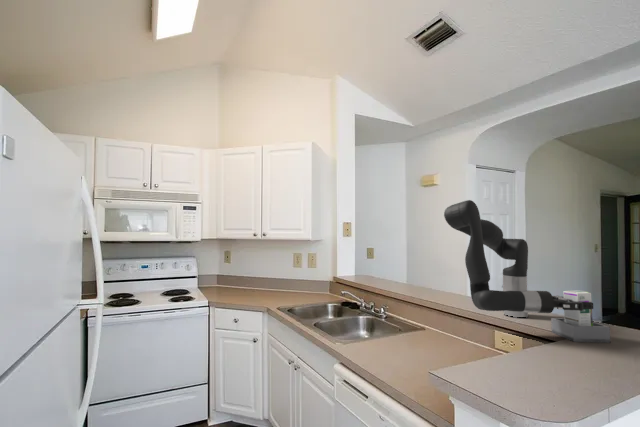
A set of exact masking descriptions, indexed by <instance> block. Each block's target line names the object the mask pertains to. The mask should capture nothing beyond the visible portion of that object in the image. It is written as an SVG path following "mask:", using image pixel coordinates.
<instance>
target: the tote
mask: <svg viewBox="0 0 640 427" xmlns="http://www.w3.org/2000/svg"><path fill="white" fill-rule="evenodd" d="M550 319H551V324H550V325H551V333H552V334H555V335H557V336H559V337H562V338H564V339H566V340H568V341H571V342H574V343H605V344H607V343H608V344H609V343H611V328H610V326H607V325H604V324H602V323H599V322H595V321H593V326H574V325H571V324H568V323H566V322H565V318H564V317H562V318H561V317H550Z"/></svg>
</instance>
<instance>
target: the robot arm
mask: <svg viewBox="0 0 640 427" xmlns="http://www.w3.org/2000/svg"><path fill="white" fill-rule="evenodd" d="M443 213H444V214H443V217H444V220H445V222H446V223H447V224H448V225H449V226H450V227H451V228H453V229H454V230H456V231H459V232H462V233H464V234H466V235H468V236H470V237H469V238H470V239H469V243H468V246H467V250H466V254H465V259H464V260H465V263H464V264H465V267H466V272H467V275H468V279H469V288H470V298H471V301H472V303H473V305H474V307H475V308H477V309H479V310H481V311H487V312H488V311H489V312H495V311H496V312H504V313H503V315H504V314H505V315H504V316H506V315H508V316H507V317H510V316H513V317H512V318H517V317H526V318H528V317H529V314H528V313H530V314H531V313H532V314H533V313H534V314H552V312H553V311H554V309H558V310H562V311H564V310H580V311H583V309H592V310H594V303H593V301H592V302H580V301H573V300H572V299H565V298H564V297H563V296H562V295H561V296H560V295H552V293H551V292H550V291H547V290H528V262H529V261H528V260H529V247H528V242H527V240H525V239H524V238H504V232H503V230H502V229H501V228H500V227H499V226H498V225H497V224H495V223H493V222H492V221H490V220H487V219H481V215H480V211H479V207H478V205H477V204H476V203H475V201H473V200H472V199H466V200H464V201H460V202H457V203H453V204H451V205H449V206H447V207H446V208H445V210H444V212H443ZM484 246H486V247H488V248H489V249H491V250H492V251H494V253H496V254H497V256H499V257H500V258H502V259H504V260H511V261H514V264H513V265H511V266H508V267H504V268H503V269H502V290H494V289H493V290H492V289H490V285H489V282H490V280H491V274H490V270H489V266H488V262H487V259H486V253H485V247H484ZM568 301H569V302H568ZM576 304H577V307H575V305H576Z"/></svg>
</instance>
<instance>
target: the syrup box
mask: <svg viewBox="0 0 640 427" xmlns="http://www.w3.org/2000/svg"><path fill="white" fill-rule="evenodd" d="M562 292H563V293H562V294H563V297H564V298H565V299H572V300H573V301H580V302H592V303H593V300H592V293H591V292H590V291H585V290H564V291H562ZM568 302H569V301H568ZM575 307H577V304H576V305H575ZM563 314H564V317H563V318H565V322H566V323H568V324H571V325H574V326H593V322H594V318H593V309H583V311H580V310H563Z"/></svg>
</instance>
